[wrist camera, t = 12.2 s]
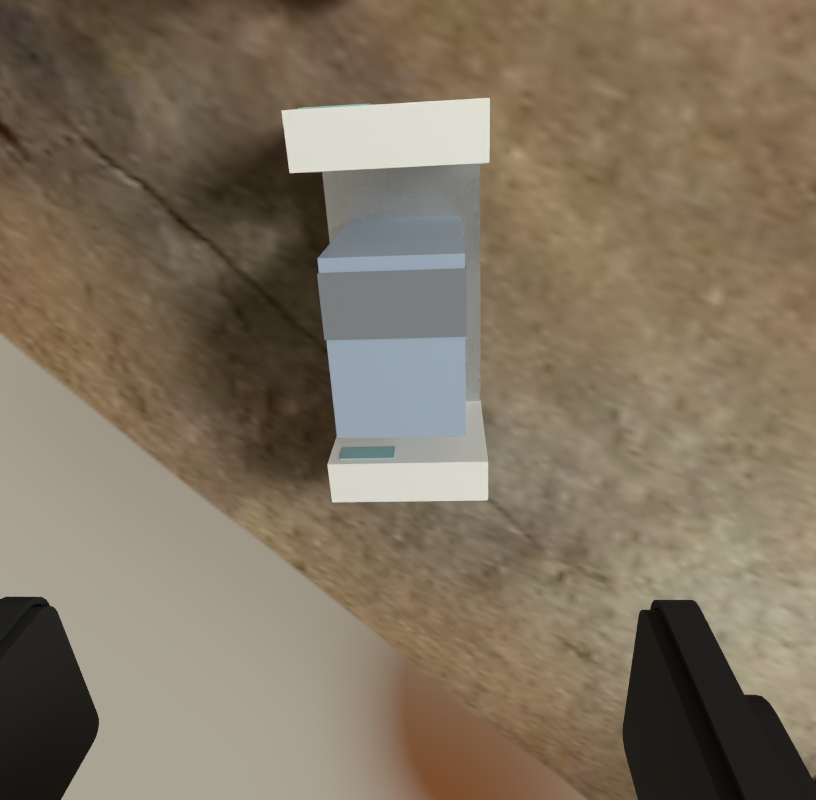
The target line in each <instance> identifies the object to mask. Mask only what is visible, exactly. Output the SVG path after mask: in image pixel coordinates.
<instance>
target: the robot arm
mask: <svg viewBox="0 0 816 800" xmlns="http://www.w3.org/2000/svg"><path fill="white" fill-rule="evenodd" d="M98 726H99V718H98V714H97V712H96V709H95V707H94V704H93V701H92V699H91V696H90V694H89V691H88V689H87V686H86V684H85V681H84V678H83V676H82V673H81V671H80V668H79V666H78V663H77V661H76V658H75V655H74V653H73V650H72V648H71V645H70V643H69V640H68V638H67V635H66V633H65V630H64V628H63V625H62V622H61V620H60V618H59V615H58V612H57V611H56V609H55V608H54V607H52V606H50V605H49V603H48V602H47V600H46V599H44V598H42V597H5V598H2V599H0V800H61V798H62V797H63V795H64V793H65V791H66V789H67V788H68V786H69V784H70V782H71V781H72V779H73V777H74V775H75V774H76V772H77V770H78V768H79V767H80V765H81V763H82V761H83V760H84V758H85V756H86V754H87V753H88V751H89V749H90V747H91V746H92V744H93V742H94V739H95V738H96V735H97V731H98ZM623 743H624V749H625V753H626V757H627V761H628V765H629V768H630V772H631V776H632V779H633V783H634V786H635V790H636V794H637V797H638V800H816V785H815V783H814V781H813V779H812V777H811V776H810V774H809V772H808V770H807V768H806V766H805V765H804V763H803V761H802V759H801V757H800V756H799V754H798V752H797V750H796V748H795V746H794V745H793V743H792V741H791V739H790V737H789V735H788V734H787V732H786V730H785V728H784V726H783V724H782V723H781V721H780V719H779V717H778V715H777V714H776V712H775V711H774V709H773V708H772V706H771V705H770V703H769V702H768V701H767V700H765V699H764V698H763V697H762V696H758V695H744V694H743V692H742V690H741V688H740V686H739V684H738V682H737V680H736V678H735V676H734V674H733V672H732V670H731V668H730V666H729V664H728V662H727V660H726V658H725V656H724V654H723V652H722V650H721V648H720V647H719V645H718V643H717V641H716V639H715V637H714V635H713V633H712V631H711V629H710V627H709V625H708V623H707V621H706V619H705V617H704V615H703V613H702V611H701V609H700V607H699V606H698V604H697V603H696V602H695V601H693V600H654V601H653V602H652V605H651V609H650V610H641V611H640V613H639V618H638V625H637V632H636V639H635V646H634V653H633V660H632V667H631V674H630V681H629V688H628V695H627V702H626V708H625V715H624V722H623Z"/></svg>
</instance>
